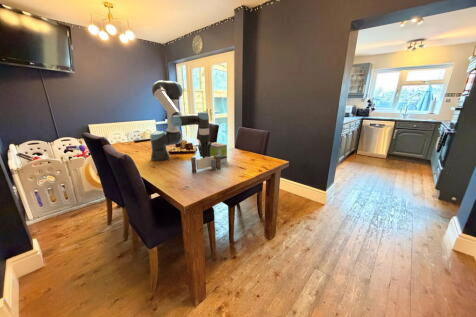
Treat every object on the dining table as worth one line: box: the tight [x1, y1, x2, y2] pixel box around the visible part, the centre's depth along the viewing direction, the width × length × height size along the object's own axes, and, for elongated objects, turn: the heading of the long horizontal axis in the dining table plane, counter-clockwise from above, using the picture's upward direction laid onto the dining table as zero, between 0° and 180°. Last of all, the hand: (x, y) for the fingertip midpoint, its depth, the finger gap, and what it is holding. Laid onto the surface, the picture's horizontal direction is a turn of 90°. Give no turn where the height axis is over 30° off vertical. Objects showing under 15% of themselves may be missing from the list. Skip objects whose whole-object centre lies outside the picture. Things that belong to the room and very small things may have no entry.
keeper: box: [210, 159, 217, 171], centre depth 140 cm, size 1×3×8 cm, turn 113°
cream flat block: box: [196, 156, 214, 171], centre depth 141 cm, size 14×2×8 cm, turn 126°
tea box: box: [208, 141, 228, 164], centre depth 160 cm, size 15×10×15 cm, turn 45°
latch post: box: [215, 155, 222, 170], centre depth 143 cm, size 3×3×10 cm
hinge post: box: [190, 156, 197, 174], centre depth 136 cm, size 4×4×11 cm
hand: (205, 164), depth 145 cm, fingers closed
